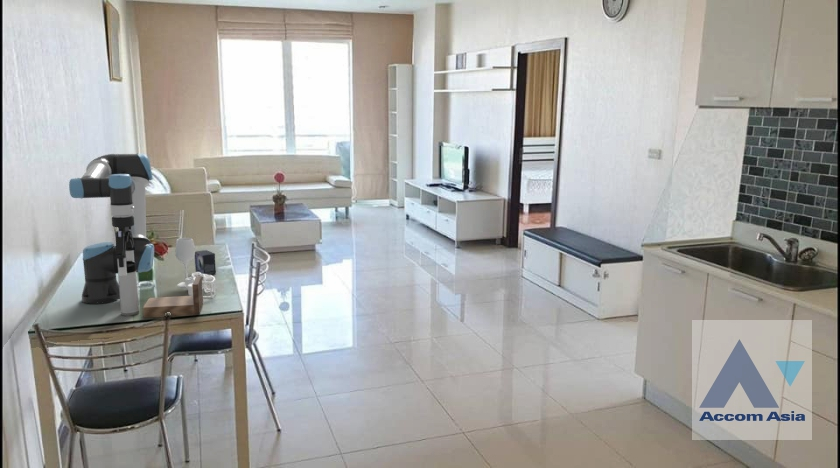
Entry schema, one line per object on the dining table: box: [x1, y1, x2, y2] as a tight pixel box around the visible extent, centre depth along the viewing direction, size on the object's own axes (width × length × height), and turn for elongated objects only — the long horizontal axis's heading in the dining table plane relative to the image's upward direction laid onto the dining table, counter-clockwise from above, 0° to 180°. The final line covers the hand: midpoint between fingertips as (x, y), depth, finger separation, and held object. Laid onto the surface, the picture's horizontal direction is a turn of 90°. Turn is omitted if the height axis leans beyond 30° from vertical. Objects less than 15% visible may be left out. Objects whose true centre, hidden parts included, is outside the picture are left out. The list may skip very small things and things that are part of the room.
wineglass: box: [174, 237, 196, 288], centre depth 279 cm, size 9×9×21 cm
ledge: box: [142, 275, 204, 318], centre depth 243 cm, size 20×13×12 cm, turn 103°
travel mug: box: [117, 261, 140, 317], centre depth 238 cm, size 6×7×20 cm
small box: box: [194, 249, 217, 275], centre depth 301 cm, size 11×6×10 cm, turn 42°
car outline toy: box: [184, 271, 217, 299], centre depth 268 cm, size 20×11×7 cm, turn 25°
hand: (126, 271), depth 237 cm, fingers open, 13 cm apart
